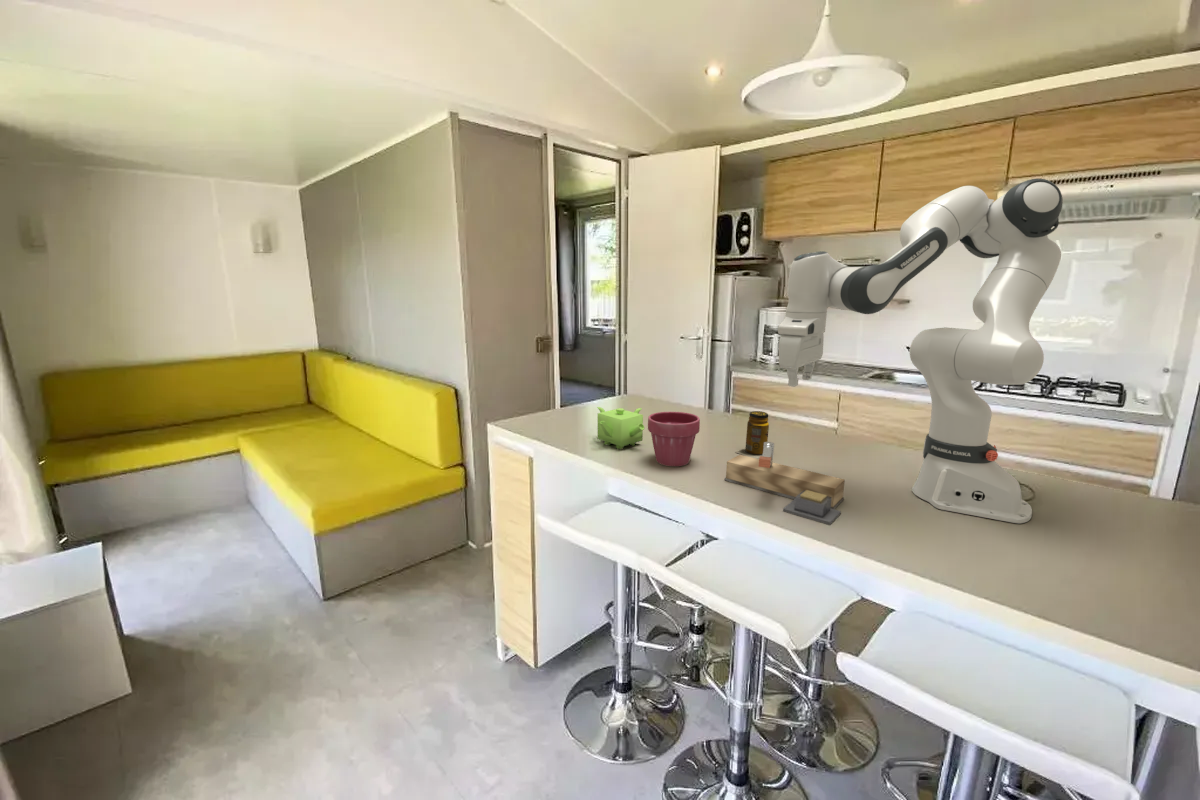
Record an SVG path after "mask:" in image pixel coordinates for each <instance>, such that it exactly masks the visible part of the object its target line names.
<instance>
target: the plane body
mask: <svg viewBox="0 0 1200 800" xmlns="http://www.w3.org/2000/svg"><path fill="white" fill-rule="evenodd" d="M725 471H726V472H725V477H724V481H726V482H730V483H732V484H738V485H740V486H744V487H747V488H751V489H755V490H759V491H762V492H767V493H770V494H774V495H777V496H781V497H783V498H788V499H792V500H794V499H795V497H796V496H797V495H799V494H800V493H801V492H802V491H803V490H805V491H806V490H809V491H813V492H817V493H820V494H824V495H827V496H828V497H832V499H831V509H835V510H836V508H837V507H838V506H839V505H840V504H841V503H842V502H843V501H844V500H845V497H844V490H845V489H844V488H845V479H844V478H840V477H836V476H831V475H828V474H823V473H818V472H815V471H810V470H807V469H801V468H798V467H793V466H789V465H785V464H781V463H778V462H773V464H772V467H770V468H766V467H759V458H758V459H757V458H753V457H748V456H745V455H742V454H739V455H736V456H734V457H733V458H731V459H729V460H727V461H726V470H725Z"/></svg>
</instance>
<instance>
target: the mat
mask: <svg viewBox="0 0 1200 800" xmlns="http://www.w3.org/2000/svg"><path fill="white" fill-rule="evenodd" d="M794 507H795V499H792V500H791V501H790V502H789V503H788V504H787V505H785V506H784V507H783V508H782V512H784V513H788V514H791V515H794V516H798V517H802V518H805V519H809V520H811V521H816V522H818V523H821V522H822V523H823V524H825V525H829V526H831V525H832V524H833V523H834V522H835V521H836V519H838V518H839V516H840V515H841V513H842V511H841V510H838V509H836V508H835V509H831V508H830V511H829V512H828V513H827V514H826V515H825V516H824V517H823V518H821V517H818V516H814V515H811V514H807V513H804V512H800V511H797V510H794ZM832 522H833V523H832Z"/></svg>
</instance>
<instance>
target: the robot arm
mask: <svg viewBox="0 0 1200 800" xmlns="http://www.w3.org/2000/svg"><path fill="white" fill-rule="evenodd" d="M1063 204H1064V203H1063V194H1062V192H1061V190H1060V188H1059V187H1058V186H1057V185H1056V184H1055V183H1054V182H1052V181H1051V180H1048V179H1045V178H1031V179H1027V180H1025V181H1022V182H1020V183H1018V184H1016V185H1014V186H1013V187H1011V188H1009V190H1007V192H1006V193H1004V194H1002V195H1001V196H1000V197H999V198H997V199H996V200H995V199H993V198H992V199H991V198H989V196H988V195H987V194H986V192H985V191H984V190H983V189H981V188H979V186H975V185H963V186H960V187H957V188H955V189H953V190H950V191H948V192H946V193H944V194H941V195H940V196H937V197H936V198H935V199H933V200H931V201H930V202H928V203H927V204H925V205H923V206H922V207H920V208H919V209H918V210H916V211H915V212H913V213H912V214H911V215H910V216H908V218H907V219H906V220H904V222H903V223H902V224H901V227H900V231H899V241H900V244H901V246H902V248H901V249H900V250H898V251H897V252H896V253H894V254H893V255H892V256H891V257H889V258H888V259H887V260H885V261H884V262H883V261H882V262H881V263H879V264H873V265H866V266H865V265H864V266H848V265H847V264H844V263H841V262H840V261H838V260H836V259H835V258H833V257H832V256H831V255H830V254H829V252H827V251H825V250H824V251H820V250H819V251H815V252H808V253H807V252H806V253H802V254H799V255H798V256H796V257H795V258H793V260H792V263H791V266H790V270H789V274H788V275H789V276H788V280H787V297H788V303H787V307H786V308H785V316H784V318H783V320H782V321H781V323H780V324H779V325H778V327H777V333H778V335H780V336H779V340H778V365H779V367H780V368H781V369H785V370H786V374H787V378H788V383H787V385H788V386H789V387H797V386H798V385H799V380H800V379H799V378H798V373H799V369H800V368H802V367H804V368H803V369H804V370H803V372H802V377H801V378H802V380H803V381H809V380H811V379H812V377H813V376H812V375H813V371H814V368H815V365H816V361H820V360H821V359H822V358H823V354H824V338H825V335H824V333H825V332H826V325H827V324H826V323H827V313H828V308H831V309H836V310H841V311H851V312H854V313H858V314H862V315H863V314H864V315H873V314H876V313H878V312H880V311H882V310H884V309H885V308H886V307H887V306H888V305H889V304H890V303H891V301H893V299H894V297H895V296H896V294H898V292H899V291H900V290H901V288H903V287H904V286H905V285H906V284H907V283H908V282H910V281H911V280H913V278H915V277H916V276H917V275H918V274H920V273H921V272H922V271H923V270H925V269H926V268H927V267H929V266H930V265H931V264H933V262H934V261H936V260H937V259H938V258H939V257H940V256H941V255H942V254H943V253H944V252H945V251H946V250H947V249H948V248H949V247H951V246H953V245H954V244H956V243H957V242H960V243H962V244H963V246H964V247H965V249H966V250H967V251H968V252H969V253H970V254H971V255H973V256H975V257H978V258H981V259H992V258H996V257H998V258H997V262H996V265H994V267H993V268H992V270H991V271H990V273H989V274H988V276H987V277H986V279H985V281H984V282H983V283H982V286H980V288H979V290H978V292H977V293H976V295H975V296H974V297H973V301H972V312H973V313H974V315H975V316H976V318H977V319H978V320H980V321H981V322H982V323H983V325H982V326H981V327H979V328H978V329H967V328H956V327H947V326H946V327H945V326H944V327H937V328H936V327H935V328H929V329H923V330H922V331H920V332H919V333H918V334H917V335H916V336H915V337H914V338H913V339H912V341H911V344H910V347H909V358H910V361H911V364H912V365H914V368H916V369H917V370H918V371H919V372H920V373H921V375H922V376H923V378H924V380H925V382H926V384H927V387H928V389H929V393H930V397H931V398H930V400H931V410H930V411H931V413H930V422H929V427H928V428H929V429H928V433H927V434H926V436H925V439H924V444H923V451H922V454H923V455H922V457H923V460H922V464H921V468H920V471H919V473H918V476H917V479H916V480H915V483H914V485H913V486H912V487H911V491H912V493H913V494H914V495H915V496H916V497H918V498H919V499H922V500H923V501H926V502H928V503H929V504H931V506H933V507H934V508H935V509H939V510H942V511H948V512H953V513H959V514H965V515H971V516H975V517H980V518H987V519H992V520H996V521H1002V522H1007V523H1013V524H1024V523H1027V522H1029V521H1030V520H1031V519H1032V515H1033V510H1032V508H1033V507H1032V506H1031V505H1030V504H1029V503H1028V502H1027V501H1025V500H1024V499H1022V490H1021V486H1020V482H1019V481H1018V480H1017V479H1016V478H1015V476H1013V475H1012V474H1011V473H1009V471H1008V470H1006V469H1005V468H1004V467H1002V466H1001V465H1000V464H999V463H998V462H997V460H998V458H999V453H998V449H997V447H996V446H997V445H995V444H993V445H992V444H991V443H989V442H988V439H989V438H988V437H989V434H990V433H989V432H990V427H991V420H992V417H993V415H992V413H993V412H992V409H991V406H990V405H989V403H988V402H986V401H985V400H984V399H983V398H982V397H980V396H979V395H978V393H976V391H975V389H974V387H973V384H972V382H979V383H985V384H989V385H990V384H991V385H999V386H1003V385H1005V386H1011V385H1012V386H1013V385H1018V386H1019V385H1025V384H1026V383H1029V382H1031V381H1032V380H1033V379H1034V378H1035V377H1036V376H1037V375H1038V374H1039V373H1040V371H1041V369H1042V367H1043V365H1044V359H1045V358H1044V355H1045V354H1044V351H1043V348H1042V346H1041V345H1040V343H1039V342H1038V341H1037V340H1036V339H1035V338H1034V337H1033V335H1032V334H1031V331H1030V321H1031V318H1032V317H1033V315H1034V312H1035V310H1036V309H1037V307H1038V305H1039V303H1040V302H1041V300H1042V298H1043V297H1044V295H1045V294H1046V292H1047V290H1048V289H1049V287H1050V285H1051V283H1052V281H1053V280H1054V277H1055V275H1056V273H1057V271H1058V268H1059V265H1060V262H1061V259H1062V250H1061V247H1060V246H1059V245H1058V244H1057V243H1056V242H1055V241H1053V240H1052V239H1051V238H1049V235H1050V234H1052V233H1053V232H1054V231H1056V230H1057V228H1058V226H1059V224H1060V222H1059V217H1060V214H1061V213H1062V209H1063Z"/></svg>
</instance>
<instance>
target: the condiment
mask: <svg viewBox="0 0 1200 800" xmlns="http://www.w3.org/2000/svg"><path fill="white" fill-rule="evenodd" d="M748 415H749V416H748V421H747V425H746V438H745V448H742V449H739V450H737V451H735V453H737V454H739V455H743V456H747V457H752V458H756V459H759V458H760V456H762V455H763V447H764V442H769V441H768V440H769V430H770V427H769V426H770V424H769V413H767V412H765V411H761V410H760V411H759V410H753V411H750V412H749V413H748Z"/></svg>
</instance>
